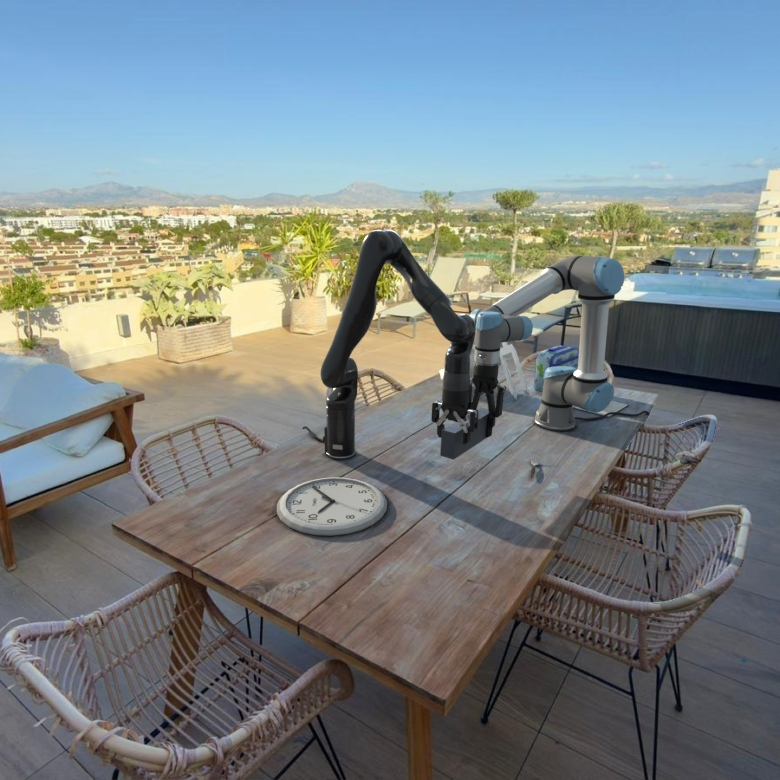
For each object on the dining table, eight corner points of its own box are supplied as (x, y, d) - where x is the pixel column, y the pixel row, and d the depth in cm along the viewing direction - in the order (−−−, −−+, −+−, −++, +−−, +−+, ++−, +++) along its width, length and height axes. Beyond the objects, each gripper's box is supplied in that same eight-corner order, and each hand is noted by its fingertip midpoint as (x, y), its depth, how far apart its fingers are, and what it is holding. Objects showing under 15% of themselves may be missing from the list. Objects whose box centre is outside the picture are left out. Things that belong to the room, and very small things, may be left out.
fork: (526, 479, 159) (527, 473, 159) (531, 458, 173) (532, 453, 173) (535, 480, 158) (536, 474, 158) (539, 460, 173) (540, 454, 172)
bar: (479, 431, 170) (481, 407, 168) (492, 434, 168) (493, 410, 165) (440, 455, 151) (441, 429, 149) (453, 459, 149) (455, 433, 146)
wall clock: (392, 527, 129) (268, 531, 127) (391, 533, 130) (269, 537, 127) (383, 473, 158) (282, 475, 155) (383, 478, 158) (282, 480, 156)
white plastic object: (461, 429, 252) (437, 405, 227) (444, 352, 274) (420, 323, 250) (535, 404, 240) (518, 377, 215) (510, 326, 262) (492, 293, 237)
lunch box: (550, 398, 235) (555, 353, 229) (529, 393, 243) (534, 349, 236) (577, 387, 253) (583, 345, 247) (557, 382, 260) (562, 341, 254)
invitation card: (608, 416, 214) (573, 407, 224) (608, 416, 214) (573, 408, 224) (628, 404, 229) (594, 396, 238) (628, 405, 229) (594, 397, 238)
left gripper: (427, 384, 148) (425, 438, 152) (472, 394, 139) (468, 450, 144) (441, 378, 153) (438, 430, 158) (485, 388, 145) (481, 442, 150)
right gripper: (455, 360, 161) (451, 431, 168) (507, 370, 151) (501, 444, 158) (466, 356, 167) (462, 424, 174) (518, 365, 157) (511, 437, 164)
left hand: (453, 440), depth 151 cm, fingers open, 7 cm apart
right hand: (481, 434), depth 166 cm, fingers closed on bar, 4 cm apart
